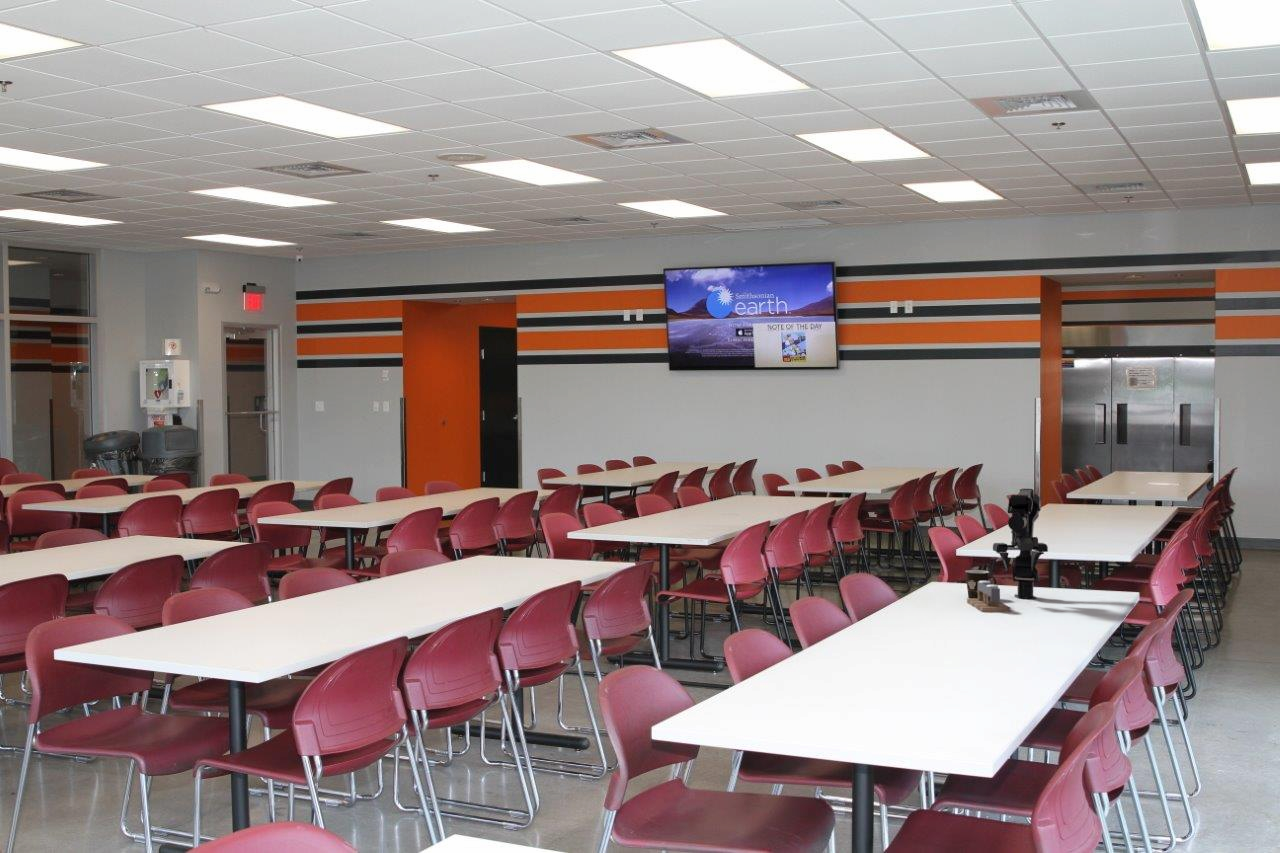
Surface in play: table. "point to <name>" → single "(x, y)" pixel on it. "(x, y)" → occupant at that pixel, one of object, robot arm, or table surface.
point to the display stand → (987, 604)
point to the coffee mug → (975, 581)
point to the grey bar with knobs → (989, 590)
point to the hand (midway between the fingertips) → (1020, 570)
